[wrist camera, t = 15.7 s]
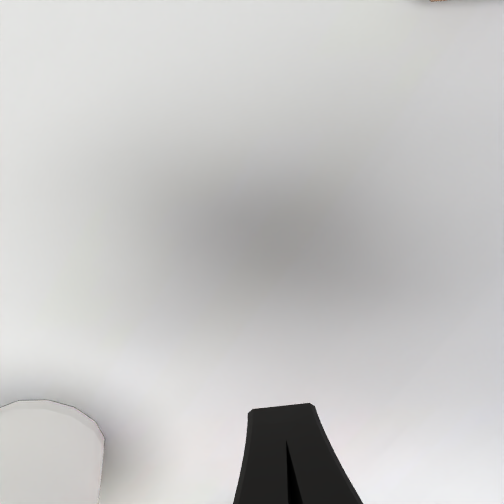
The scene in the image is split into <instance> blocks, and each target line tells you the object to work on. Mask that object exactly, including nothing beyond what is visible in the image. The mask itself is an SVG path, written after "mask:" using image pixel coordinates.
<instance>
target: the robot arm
mask: <svg viewBox="0 0 504 504" xmlns="http://www.w3.org/2000/svg"><path fill="white" fill-rule="evenodd" d="M233 504H363V503H362V501H361V499H360V497H359V496H358V494H357V492H356V490H355V489H354V487H353V485H352V484H351V482H350V480H349V478H348V477H347V475H346V473H345V471H344V469H343V468H342V466H341V464H340V462H339V460H338V458H337V456H336V454H335V452H334V450H333V448H332V446H331V444H330V442H329V440H328V438H327V436H326V434H325V431H324V429H323V427H322V424H321V422H320V419H319V417H318V414H317V411H316V408H315V406H314V405H312V404H310V403H305V404H295V405H286V406H277V407H268V408H259V409H252V410H251V411H250V412H249V413H248V426H247V436H246V444H245V450H244V456H243V461H242V467H241V472H240V477H239V481H238V485H237V489H236V493H235V498H234V502H233Z"/></svg>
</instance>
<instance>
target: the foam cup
mask: <svg viewBox="0 0 504 504" xmlns="http://www.w3.org/2000/svg"><path fill="white" fill-rule="evenodd" d="M104 441H105V438H104V436H103V434H102V433H101V431H100V429H99V427H98V426H97V424H96V422H95V421H94V420H92V419H91V418H89V417H88V416H86V415H85V414H83V413H82V412H80V411H79V410H78V409H76V408H74V407H71V406H67V405H64V404H60V403H56V402H53V401H49V400H23V401H16V402H14V403H11V404H9V405H6V406H4V407H1V408H0V504H99V494H100V484H101V474H102V465H103V455H104Z"/></svg>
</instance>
